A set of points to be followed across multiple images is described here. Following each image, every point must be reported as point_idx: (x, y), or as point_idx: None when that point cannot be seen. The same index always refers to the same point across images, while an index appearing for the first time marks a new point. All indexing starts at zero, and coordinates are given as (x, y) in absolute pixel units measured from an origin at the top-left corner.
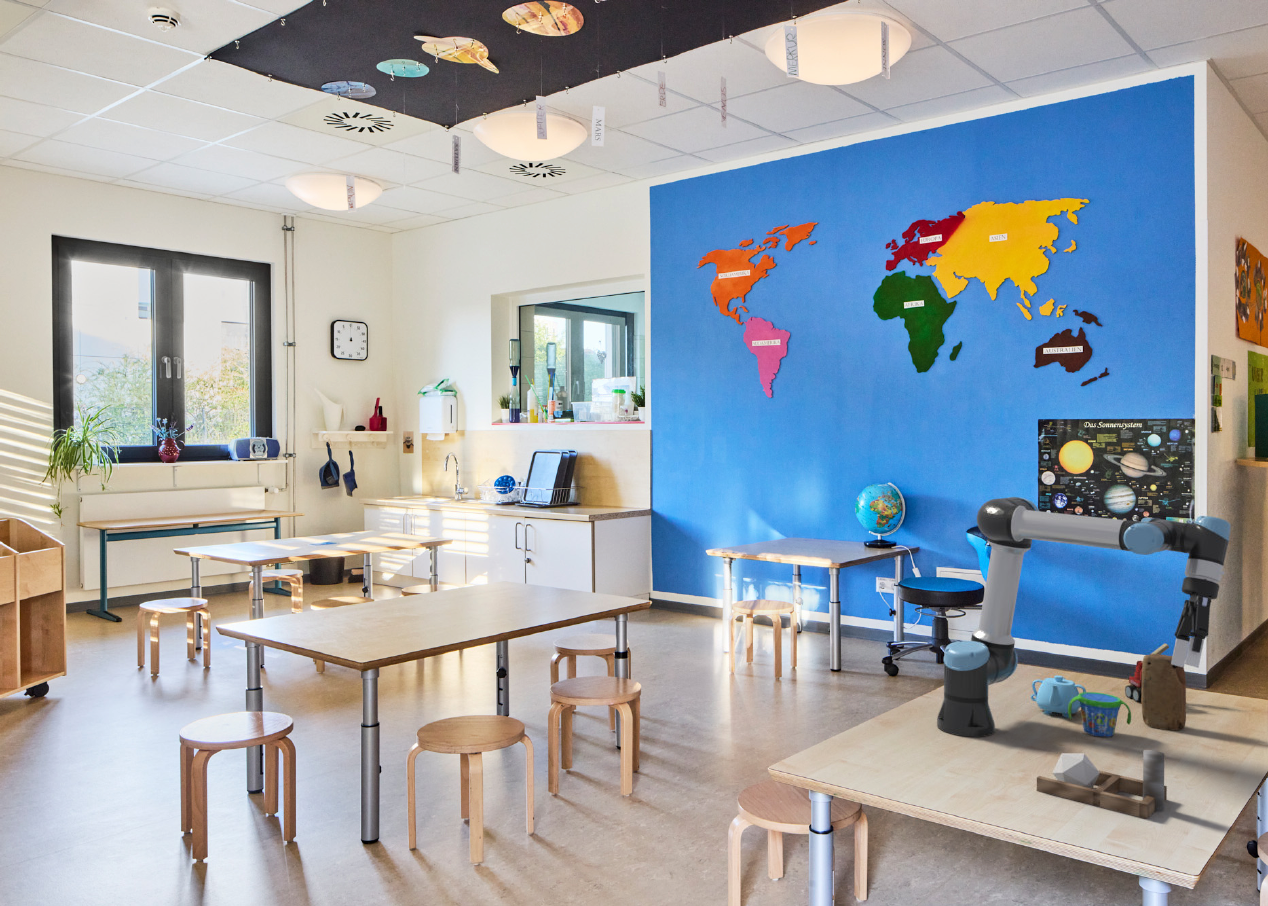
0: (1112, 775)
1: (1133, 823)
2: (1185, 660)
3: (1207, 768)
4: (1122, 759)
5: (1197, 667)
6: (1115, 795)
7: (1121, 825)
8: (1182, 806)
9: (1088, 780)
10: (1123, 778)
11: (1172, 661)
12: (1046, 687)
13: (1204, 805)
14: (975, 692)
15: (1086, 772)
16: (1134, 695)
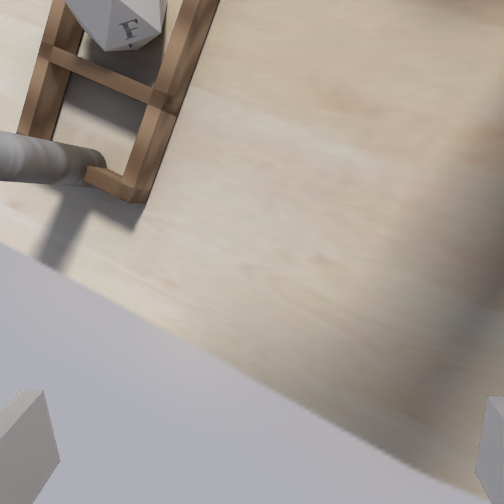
0: (155, 88)
1: (18, 123)
2: (26, 410)
3: (429, 362)
4: (438, 144)
5: (54, 459)
6: (36, 86)
7: (3, 101)
8: (130, 229)
9: (83, 28)
10: (145, 112)
11: (501, 416)
12: None
13: (151, 273)
14: None
15: (75, 16)
16: None
